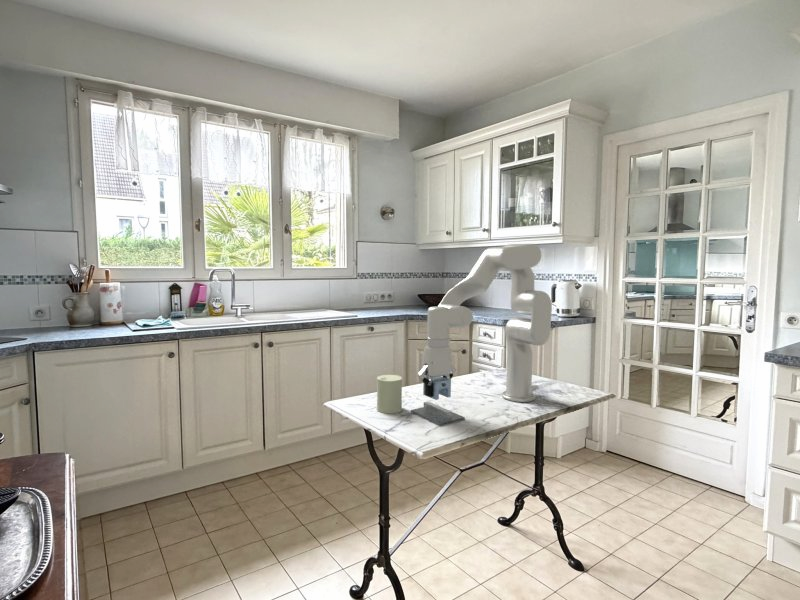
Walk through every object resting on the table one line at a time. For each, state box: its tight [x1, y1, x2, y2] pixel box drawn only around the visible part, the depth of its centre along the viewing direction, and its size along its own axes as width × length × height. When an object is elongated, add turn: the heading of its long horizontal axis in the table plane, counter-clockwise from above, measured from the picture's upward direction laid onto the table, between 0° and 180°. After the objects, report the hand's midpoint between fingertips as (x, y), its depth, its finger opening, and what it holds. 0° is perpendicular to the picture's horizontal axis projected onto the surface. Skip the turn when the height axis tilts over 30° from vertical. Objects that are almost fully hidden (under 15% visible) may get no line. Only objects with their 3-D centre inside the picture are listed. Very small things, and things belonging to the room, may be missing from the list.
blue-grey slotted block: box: [422, 376, 452, 401], centre depth 154 cm, size 6×7×6 cm
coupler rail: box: [410, 401, 466, 427], centre depth 155 cm, size 11×16×3 cm
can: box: [376, 374, 403, 414], centre depth 162 cm, size 9×9×12 cm
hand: (437, 393), depth 154 cm, fingers closed on blue-grey slotted block, 6 cm apart
